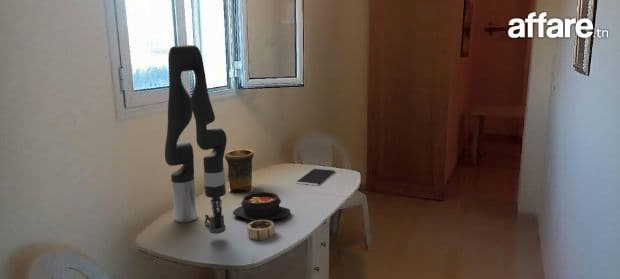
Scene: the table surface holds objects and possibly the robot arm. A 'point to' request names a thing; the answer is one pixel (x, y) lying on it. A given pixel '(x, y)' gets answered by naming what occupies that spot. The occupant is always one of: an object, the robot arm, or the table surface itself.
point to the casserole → (261, 207)
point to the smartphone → (315, 177)
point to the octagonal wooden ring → (260, 229)
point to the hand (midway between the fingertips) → (217, 226)
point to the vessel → (240, 171)
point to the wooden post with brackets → (206, 220)
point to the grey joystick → (212, 225)
